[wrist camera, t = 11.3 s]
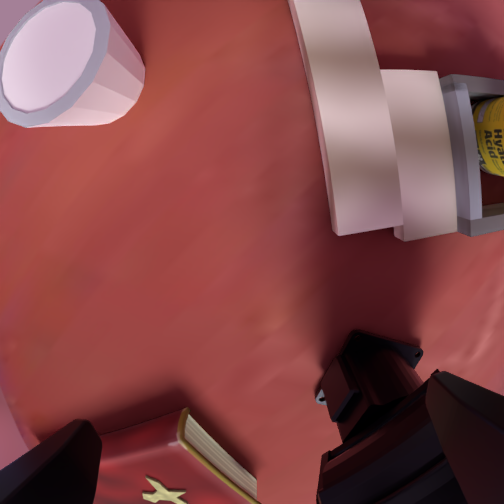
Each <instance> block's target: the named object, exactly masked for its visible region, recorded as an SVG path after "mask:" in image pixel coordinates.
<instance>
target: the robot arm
mask: <svg viewBox="0 0 504 504" xmlns="http://www.w3.org/2000/svg"><path fill="white" fill-rule="evenodd" d="M357 335H359V337H358V338H357V339H354V338H355V336H357ZM417 352H418V353H417ZM416 353H417V354H416ZM415 354H416V355H415ZM422 355H423V350H422V349H421V348H420V347H419V346H415V345H412V344H408V343H404V342H401V341H397V340H394V339H390V338H387V337H383V336H380V335H376V334H373V333H369V332H366V331H362V330H358V329H356V330H353V331H352V332H351V333H350V334H349V336H348V338H347V340H346V342H345V344H344V346H343V348H342V349H341V351H340V353H339V354H338V355H337V356H335V358H334V360H333V362H332V363H331V365H330V367H329V369H328V370H327V372H326V374H325V376H324V377H323V379H322V381H321V386H320V388H319V389H318V391H317V393H316V394H315V400H316V402H317V403H318V404H322V405H327V408H328V411H329V415H330V418H331V420H332V422H336V423H337V426H338V429H339V433H340V436H341V439H342V443H343V444H341V445H340V446H338V447H337V448H335V449H333V450H332V451H330V450H329V451H328V452H326V453H324V454H323V455H322V458H321V466H320V474H319V482H318V489H317V495H316V502H317V504H504V396H502V395H500V394H498V393H495V392H493V391H490V390H488V389H486V388H483V387H481V386H479V385H476V384H474V383H472V382H469V381H467V380H465V379H463V378H460V377H458V376H456V375H453V374H451V373H449V372H446V371H441V372H440V371H439V370H438V369H436V370H435V371H434V372H433V373H432V374H431V376H430V378H429V379H428V380H426V381H425V382H424V383H423V381H422V380H421V378H420V377H419V376H418V374H417V373H416V371H415V370H414V369H415V367H416V365H417V364H418V362H419V361H420V359H421V357H422ZM320 397H323V398H320ZM101 454H102V440H101V438H100V437H99V435H98V433H97V432H96V430H95V428H94V427H93V425H92V424H91V422H90V421H89V420H86V419H75V420H73V421H72V422H70V423H69V424H67V425H66V426H65V427H63V428H62V429H60V430H59V431H57V432H56V433H55V434H53V435H52V436H50V437H49V438H47V439H46V440H44V441H43V442H42V443H40V444H39V445H37V446H36V447H34V448H33V449H31V450H30V451H28V452H27V453H25V454H24V455H22V456H21V457H19V458H18V459H16V460H15V461H14V462H12V463H11V464H9V465H8V466H6V467H5V468H3V469H1V470H0V504H93V502H94V498H95V494H96V488H97V482H98V474H99V467H100V460H101Z"/></svg>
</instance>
